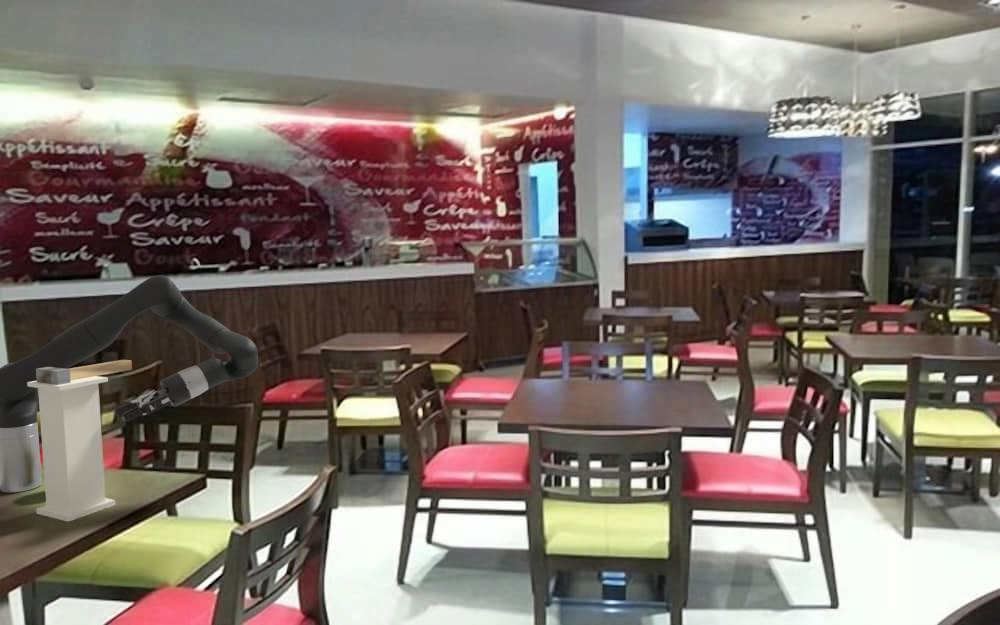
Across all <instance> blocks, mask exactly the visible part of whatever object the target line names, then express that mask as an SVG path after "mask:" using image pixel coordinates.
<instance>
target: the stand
mask: <svg viewBox="0 0 1000 625" xmlns="http://www.w3.org/2000/svg"><path fill="white" fill-rule="evenodd" d="M107 382H109V378H108V377H107V376H100V375H99V376H94V377H88V378H82V379H77V380H71V383H66V384H61V385H55V384H47V383H39V382H37V381H32V382H27V386H28V387H35V388H37V392H38V410H39V417H40V418H39V419H40V420H39V421H40V422H39V424H40V434H41V435H40V436H41V448H42V449H41V450H42V451H41V452H42V462H43V463H42V464H43V476H44V480H43V481H44V488H45V489H44V493H45V503H46V504H45V505H44V506H41V507H37V508H36V514H37V515H41V516H44V517H49V518H53V519H55V520H60V521H64V522H71V521H74V520H77V519H80V518H83V517H87V516H88V515H92V514H93V513H97V512H99V511H103V510H105V508H106V509H108V508H110V507H111V508H112V507H113V506H116V500H115V499H112V498H107V497H106V487H105V486H106V485H105V471H104V470H105V469H104V455H103V454H104V453H103V452H104V451H103V440H102V438H103V437H102V423H101V421H102V419H101V406H100V405H101V404H100V402H101V401H100V389H99V384H103V383H107Z"/></svg>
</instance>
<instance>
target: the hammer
mask: <svg viewBox="0 0 1000 625" xmlns="http://www.w3.org/2000/svg"><path fill="white" fill-rule="evenodd" d="M132 364H133V363H132V360H129V359H119V360H114V361H107V362H102V363H96V364H95V363H94V364H90V365H89V364H88V365H82V366H78V367H77V366H76V367H71V368H70V367H69V368H66V369H64V368H55V367H44V368H38V369H36V378H37V382H39V383H47V384H55V385H61V384H66V383H71V380H77V379H82V378H88V377H94V376H99V377H100V376H103V375H110V374H114V373H120V372H127V371H132V370H133V365H132Z"/></svg>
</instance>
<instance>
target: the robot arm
mask: <svg viewBox="0 0 1000 625" xmlns="http://www.w3.org/2000/svg"><path fill="white" fill-rule="evenodd" d="M147 310H150V311H152V312H153V313H154V314H156V315H157V316H160V317H162V318H164V319H166V320H168V321H170V322H172V323H174V324H176V325H177V326H179V327H181V328H183V329H184V330H186V331H187V332H188V333H190V334H191V335H192V336H193V337H194V338H196V340H198V341H199V342H200V343H202V344H203V345H204V346H206V347H207V348H209V349H210V350H211V351H212V352H214V353H216V354H218V355H223V354H226V353H227V354H228V355H229V360H227V361H222V360H221V359H219V358H217V357H211V358H208V359H207V360H204V361H202V362H200V363H198V364H196V365H193V366H190V367H186V368H185V369H183V370H180V371H178V372H175V373H174V374H172V375H169V376H167V377H165V378H163V379H161V380H160V381H159V382H160V383H159V386H160V388H161V389H159V390H155V389H150V390H149V391H147V392H145V393H143V394H141V395H138V396H137V397H134V398H132V399H130V401H129V403H126V404H123V405H122V406H120V407H118V408H116V409H115V410H114V413H115V414H116V416H117V417H118V418H123V419H124V421H125V422H126V423H129V422H131V421H133V420H135V419H136V418H138V417H141V416H146V415H147V416H149V415H151V414H153V413H156V412H157V411H160V410H161V409H163V408H165V407H167V406H169V405H171V406H172V407H177V406H180V405H181V404H184V403H186V402H187V401H190V400H191V399H194V398H195V397H198V396H200V395H202V394H203V393H205V392H206V391H208V390H210V389H212V388H214V387H216V386H218V385H221V384H222V383H225V382H231V381H234V380H239V379H243V378H246V377H248V376H250V375H252V374H254V372H255V371H256V370H257V369H258V367H259V355H258V348H257V345H256V344H255V342H254V341H253V340H252V339H250V338H249V337H247V336H244V335H242V334H240V333H237V332H234V331H231V330H230V329H229V328H227V327H226V326H224V325H223V324H222V323H221V322H219V321H218V320H216V319H215V318H213V317H212V316H209V315H207V314H204V313H203V312H201V311H199V310H198V309H196V308H195V307H194V306H193V305H192V304H191V303H189V301H188V300H187V299H186V298H185V297H184V295H183V294H182V292H181V290H180V289H179V288H178V287H177V285H176V284H175V283H174V282H173V280H172V279H171V278H170V277H168V276H166V275H154V276H151V277H149V278H147V279H145V280H144V281H143V282H141V283H139V284H138V285H136V286H135V287H134V288H132V289H131V290H129V291H128V292H127V293H126V294H124V295H122V296H121V297H120V298H118V299H117V300H115V301H114V302H112V303H110V304H108V305H107V306H105V307H103V308H102V309H100V310H99V311H97V312H95V313H94V314H92V315H90V316H88V317H86V318H84V319H83V320H81V321H79V322H78V323H75V324H74V325H72V326H70V327H68V328H67V329H66V330H64V331H62V332H61V333H60V334H59V335H57V336H56V337H54V338H53V339H52V340H51V341H49V342H48V343H46V344H45V345H44V346H42V347H41V348H40V349H38V350H36V351H35V352H33V353H32V354H30V355H28V356H26V357H24V358H22V359H20V360H17V361H15V362H9V363H6V364H5V365H3V366H1V367H0V492H3V493H20V492H26V491H29V490H34V489H36V488H38V487H40V486H42V484H43V482H42V478H43V477H42V467H41V466H42V465H41V455H40V454H41V452H40V438H39V436H40V435H39V426H38V412H39V411H38V410H39V394H38V388H35V387H28V386H27V382H32V381H37V378H36V369H38V368H44V367H55V368H64V369H70V367H71V368H72V367H73V366H75V365H77V364H78V363H81V362H83V361H85V360H87V359H88V358H91V357H93V355H95V354H97V353H99V352H102V350H104V349H106V348H108V347H109V346H110V345H111V344H113V343H114V341H116V339H117V338H118V337H119V336H120V334H121V333H122V331H123V330H124V328H125V327H126V326H127V324H128V323H130V321H132V320H133V319H134V318H135V317H138V315H140V314H142V313H144V312H145V311H147Z"/></svg>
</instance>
